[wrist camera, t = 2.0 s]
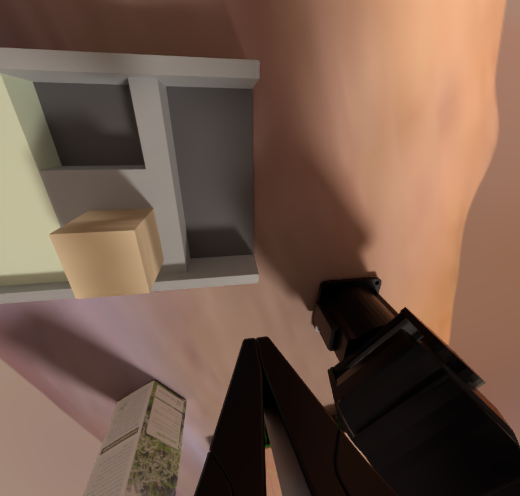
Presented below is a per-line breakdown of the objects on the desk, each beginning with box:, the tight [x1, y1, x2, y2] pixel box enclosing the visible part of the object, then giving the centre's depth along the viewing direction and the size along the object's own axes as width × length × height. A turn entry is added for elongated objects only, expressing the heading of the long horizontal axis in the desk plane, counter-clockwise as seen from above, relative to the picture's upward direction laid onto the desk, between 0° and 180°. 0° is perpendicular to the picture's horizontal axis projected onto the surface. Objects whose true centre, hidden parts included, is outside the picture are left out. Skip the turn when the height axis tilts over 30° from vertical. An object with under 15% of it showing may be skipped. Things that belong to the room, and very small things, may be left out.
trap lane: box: [0, 47, 260, 304], centre depth 16 cm, size 20×14×4 cm
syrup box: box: [83, 381, 187, 496], centre depth 21 cm, size 6×6×14 cm
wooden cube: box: [49, 208, 164, 299], centre depth 15 cm, size 4×4×4 cm
